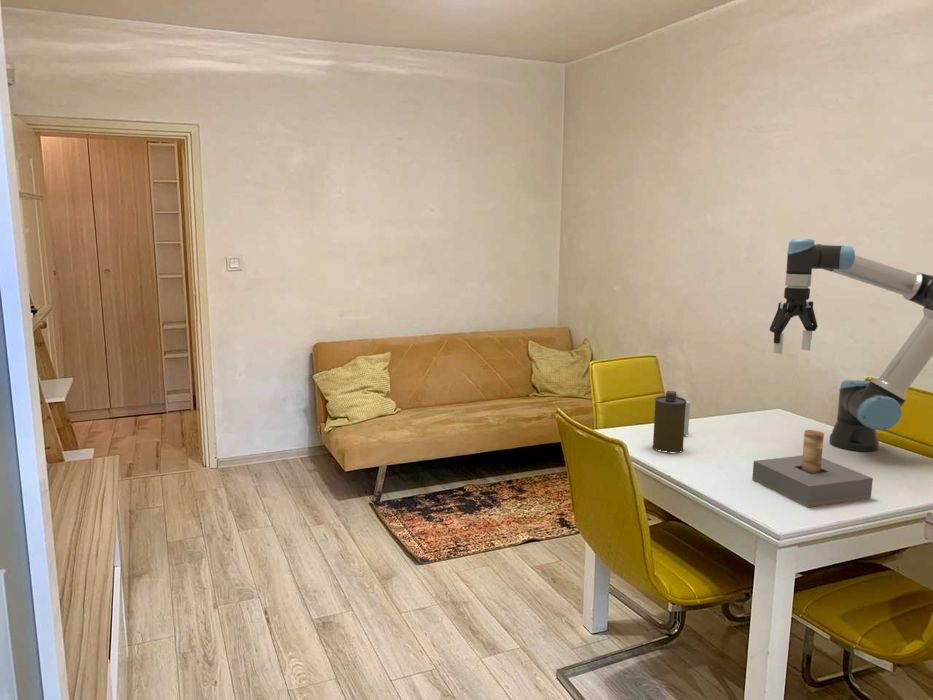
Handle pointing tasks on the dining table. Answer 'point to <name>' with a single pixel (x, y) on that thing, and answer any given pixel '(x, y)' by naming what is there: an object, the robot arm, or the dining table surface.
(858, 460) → the dining table surface
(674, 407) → the canister
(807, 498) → the socket block
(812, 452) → the oak peg
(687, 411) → the supplement box
